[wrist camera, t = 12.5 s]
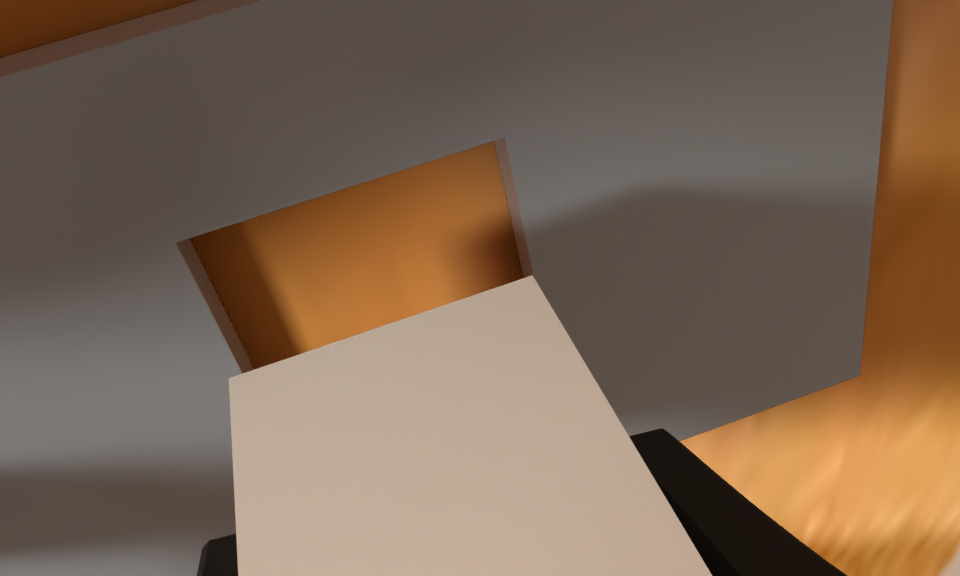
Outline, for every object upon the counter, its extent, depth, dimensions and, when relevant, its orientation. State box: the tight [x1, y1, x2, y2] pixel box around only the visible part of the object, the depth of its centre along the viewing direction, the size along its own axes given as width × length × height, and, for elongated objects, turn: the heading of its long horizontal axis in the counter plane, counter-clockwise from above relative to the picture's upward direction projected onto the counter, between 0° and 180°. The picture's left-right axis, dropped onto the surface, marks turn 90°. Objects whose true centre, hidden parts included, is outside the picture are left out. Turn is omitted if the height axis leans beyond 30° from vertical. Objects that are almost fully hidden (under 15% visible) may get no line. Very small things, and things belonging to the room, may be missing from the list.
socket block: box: [0, 0, 893, 576], centre depth 13 cm, size 23×12×7 cm, turn 102°
